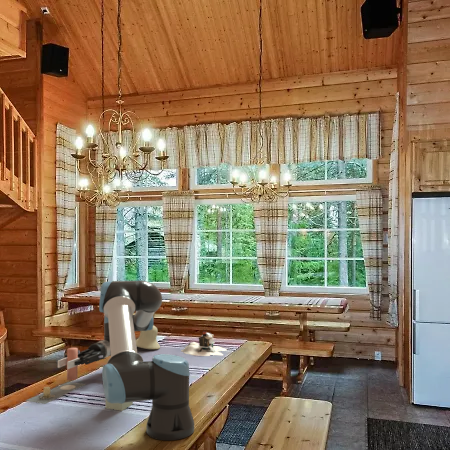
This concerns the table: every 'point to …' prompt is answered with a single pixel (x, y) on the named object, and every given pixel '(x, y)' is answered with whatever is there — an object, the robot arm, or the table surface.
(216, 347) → the cabin
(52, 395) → the board
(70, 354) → the peg
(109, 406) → the pale green block
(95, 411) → the table surface
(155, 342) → the handbell
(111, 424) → the table surface
